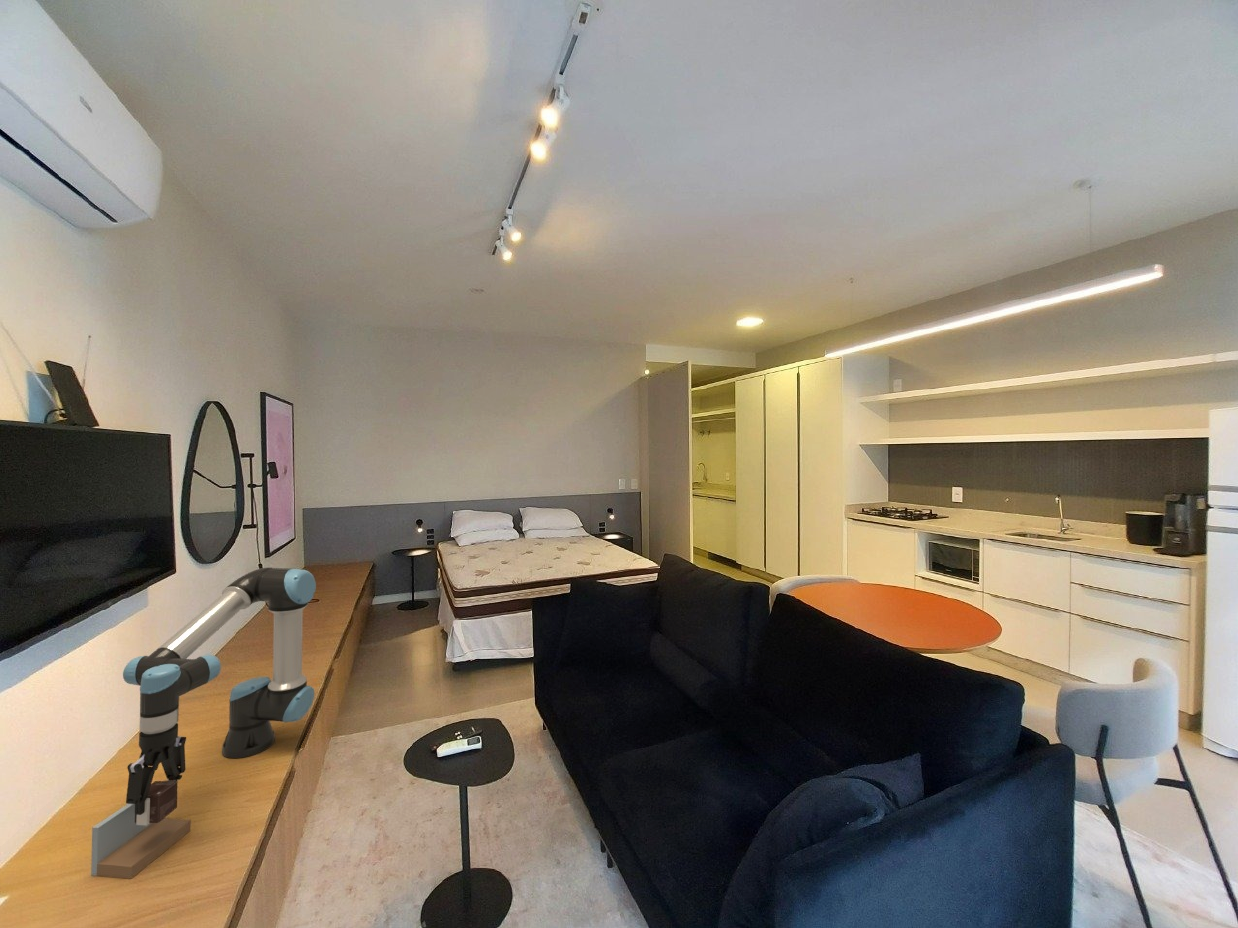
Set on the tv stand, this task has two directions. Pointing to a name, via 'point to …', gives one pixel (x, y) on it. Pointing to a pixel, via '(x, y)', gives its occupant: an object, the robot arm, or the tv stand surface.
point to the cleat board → (131, 843)
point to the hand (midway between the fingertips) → (156, 814)
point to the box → (161, 800)
